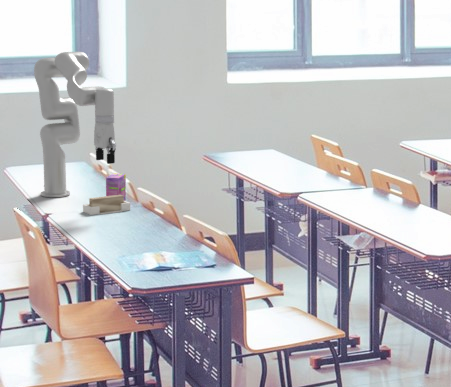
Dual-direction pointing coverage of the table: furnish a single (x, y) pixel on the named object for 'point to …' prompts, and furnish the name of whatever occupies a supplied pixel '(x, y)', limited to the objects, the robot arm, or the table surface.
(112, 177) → the box
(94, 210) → the endcaps
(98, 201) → the slat
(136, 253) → the table surface
